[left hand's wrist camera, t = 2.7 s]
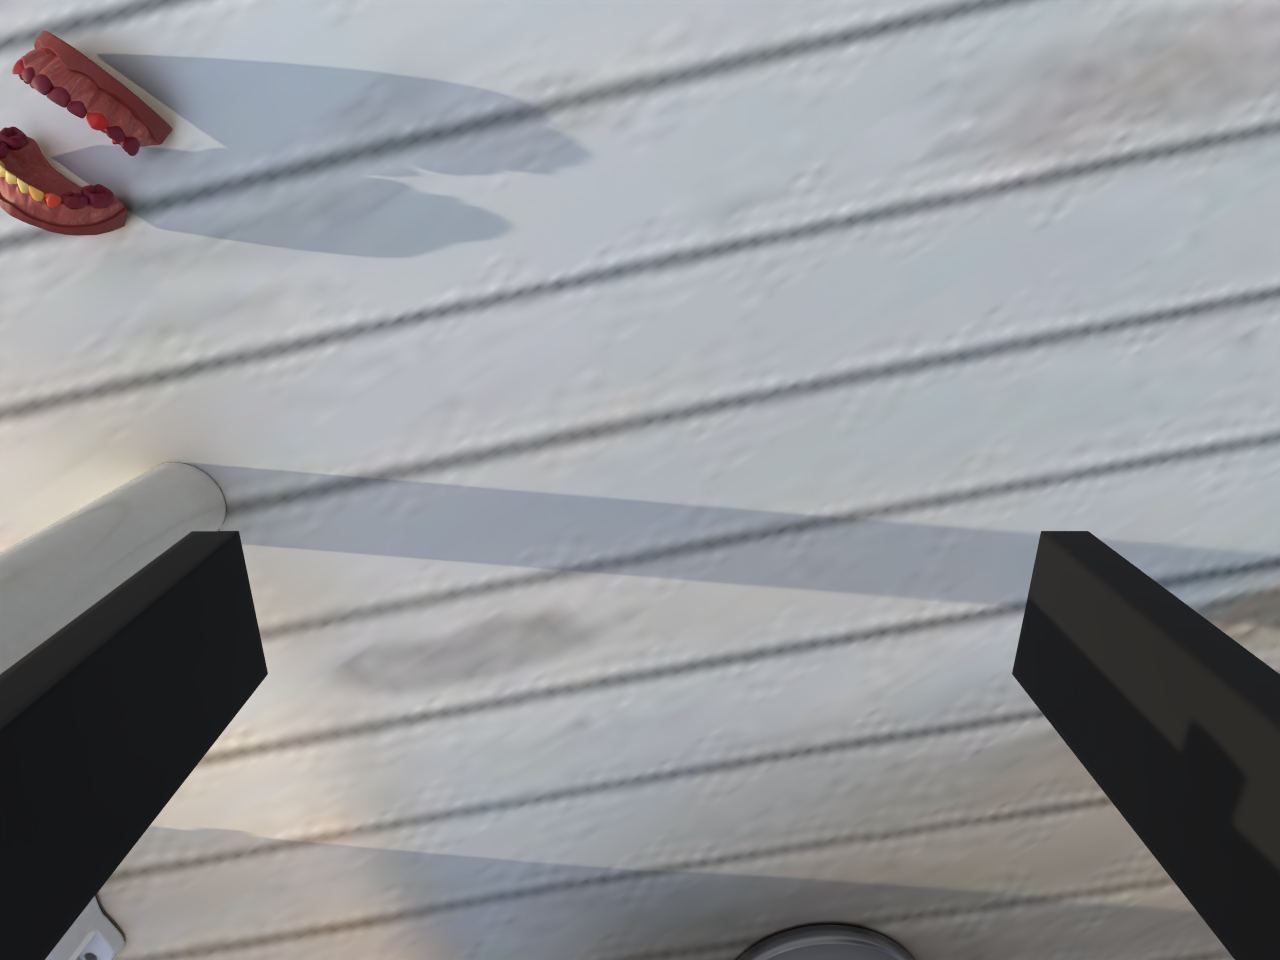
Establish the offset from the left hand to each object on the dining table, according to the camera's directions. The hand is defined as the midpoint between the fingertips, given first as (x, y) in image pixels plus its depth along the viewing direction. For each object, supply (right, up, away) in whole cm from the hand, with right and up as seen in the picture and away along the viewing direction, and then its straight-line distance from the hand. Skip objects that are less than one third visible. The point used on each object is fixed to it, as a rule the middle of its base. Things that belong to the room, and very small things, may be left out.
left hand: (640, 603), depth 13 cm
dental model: (-26, +18, +23) cm, 39 cm away
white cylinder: (-26, +1, +30) cm, 39 cm away
